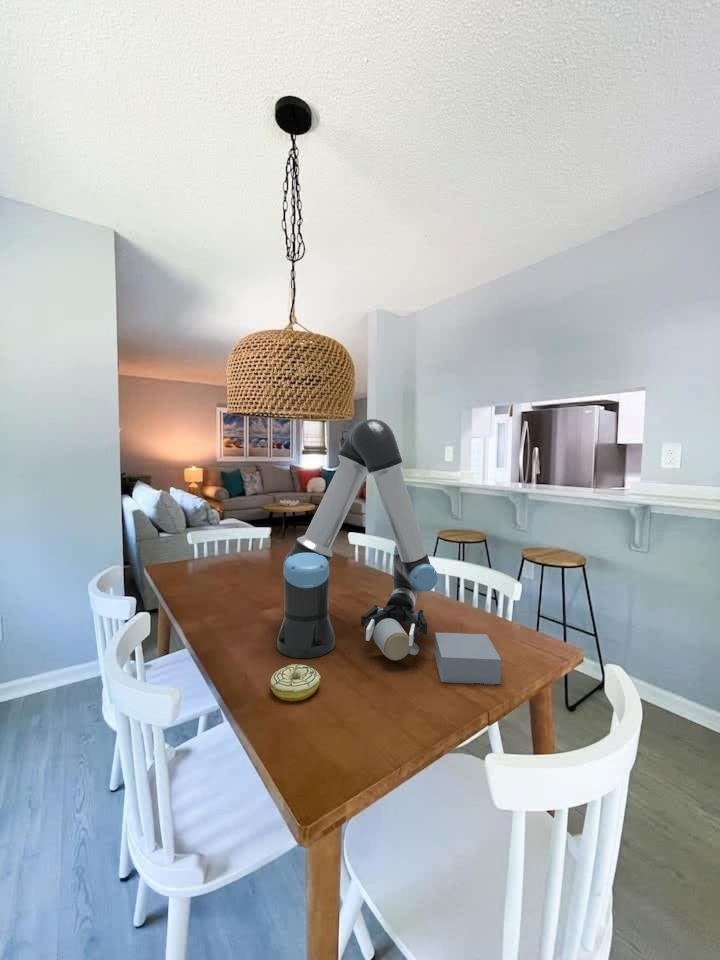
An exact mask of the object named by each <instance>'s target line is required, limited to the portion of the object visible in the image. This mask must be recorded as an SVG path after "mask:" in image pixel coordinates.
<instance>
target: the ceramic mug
mask: <svg viewBox="0 0 720 960" xmlns="http://www.w3.org/2000/svg"><path fill="white" fill-rule="evenodd" d="M372 637H373V640H374V643H375V644H376V646H378V648H379V650H380V651H381V652H382V653H383V655H384V656H385V657H386V658H387V659H389V660H391V661H400V660H403V659H404V658H405V657H406V656H407V655H408V654H409V655H412V656H416V655H418V653H419V651H420V647H419V646H418V644H416V643H415V642H414V641H413V644H412V646H409V634H408V633H407V632H406V631H405V630H404V628H403V627H402V625H401V624H400V622H397V621H396V620H394V619H391V618H387V619H383V620H381V621H380V622H379V623H378V624H377V625H376V626H375V627H374V631H373V633H372Z"/></svg>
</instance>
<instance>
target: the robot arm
mask: <svg viewBox="0 0 720 960" xmlns="http://www.w3.org/2000/svg"><path fill="white" fill-rule="evenodd" d="M343 442H344V443H343V445H342V447H341V449H340V451H339V452H338V455H337V457H338V460H339V464H338V467H337V469H336V471H335V472H334V474H333V476H332V479H331V480H330V483H329V484H328V487H327V488H326V490H325V493H324V495H323V497H322V499H321V501H320V503H319V506H318V508H317V509H316V512H314V514H313V515H314V516H313V517H312V519H311V522H310V524H309V525H308V527H307V530H306V531H305V534H304V535H302V536H299V537H297V538H296V540H295V542H294V544H293V547H292V548H291V550H290V551H289V552H288V553H287V555H286V556H285V557H284V561H283V564H282V572H283V608H284V609H283V620H282V623H281V626H280V629H279V633H278V635H277V639H276V640H277V641H276V643H277V649H278V651H279V653H280V654H282V655H284V656H287V657H290V658H294V659H313V658H317V657H320V656H321V657H322V656H324V655H327V654H328V653H329V652H331V651H332V650H333V649H334V648H335V646H336V636H335V632H334V631H335V630H334V629H333V628H334V627H333V625H332V622H331V620H330V619H331V618H330V616H329V607H330V605H329V600H330V599H329V590H330V588H329V583H330V582H329V581H330V580H329V576H330V567H329V566H330V565H329V564H330V562H331V560H332V557H333V556H334V555H333V552H332V546H333V544H334V542H335V539H336V538H337V535H338V534H339V532H340V529H341V528H342V526H343V523H344V522H345V519H346V517H347V515H348V513H349V511H350V509H351V507H352V504H353V503H354V501H355V499H356V497H357V495H358V493H359V491H360V488H361V486H362V485H363V483H364V481H365V478H366V476H368V475H371V476H372V477H373V478H374V481H375V485H376V488H377V491H378V494H379V497H380V500H381V502H382V506H383V509H384V511H385V516H386V518H387V519H386V520H387V521H388V524H389V527H390V530H391V533H392V536H393V539H394V543H395V546H394V548H393V549H394V551H393V555H392V556H393V578H392V579H393V583H392V591H391V594H390V596H389V598H388V600H387V603H386V606H383V607H382V608H380V607H379V605H377V604H374V605H373V606H372V608H371V609H369V610H368V611H366V612H365V613H364V614H362V615H361V617H360V626H361V628H362V627H363V628H364V632H365V641H368V642H369V641H370V640H371V637H373V632H374V629H375V627H376V625H377V624H378V623H379V622H380V621H381V620H383V619H387V618H391V619H394V620H396V621H397V622H398V623H402V624H403V625H405V626H408V628H409V629H410V630H409V634H408V636H409V646H412V644H413V642H414V639H418V638H419V637H420V634H421V633H422V634H424V635H427V634H428V622H427V620H426V618H425V615H424V610H423V609H419V610H417V611H415V610H414V609H415V606H416V603H417V599H418V597H419V592H421V593H427V592H430V591H431V590H433V589H434V588H435V587H436V586H437V584H438V580H439V576H438V571H437V570H436V568H434V567H435V566H433V565H432V564H431V561H430V558H429V556H428V555H429V554H428V552H427V549H426V546H425V543H424V540H423V537H422V533H421V531H420V526H419V523H418V520H417V517H416V514H415V511H414V508H413V504H412V501H411V498H410V495H409V492H408V488H407V485H406V481H405V479H404V475H403V471H402V469H401V467H402V465H403V460H402V456H401V453H400V449H399V447H398V443H397V440H396V436H395V434H394V432H393V430H392V428H391V427H390V426H389V425H388V424H387V423H386V422H384V421H383V420H381V419H375V418H372V419H370V418H369V419H366V420H363V421H359V422H357V423H355V424H354V425H352V426H351V427H350V428H349V429H348V430H347V432H346V434H345V437H344V441H343Z"/></svg>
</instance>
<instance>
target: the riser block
mask: <svg viewBox="0 0 720 960" xmlns="http://www.w3.org/2000/svg"><path fill="white" fill-rule="evenodd" d="M434 658H435V662H436V666H437V671H438V674H439V679H440V682H441V683H453V684H454V683H455V684H456V683H457V684H473V683H480V684H479V685H495V684H500V685H501V681H502V679H501V677H502V676H501V675H502V659H501V657H500V655H499V653H498V652H497V650H496V648H495V646H494V644H493V642H492V641H491V640H490V637H489V636H488V634H487V633H486V634H484V633H460V632H459V633H458V632H455V633H454V632H434ZM481 683H482V684H481ZM483 683H484V684H483Z"/></svg>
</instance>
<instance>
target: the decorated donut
mask: <svg viewBox="0 0 720 960" xmlns="http://www.w3.org/2000/svg"><path fill="white" fill-rule="evenodd" d="M320 683H321V675H320V673H319V672H318V671H317V670H316V669H315V668H313V667H312V666H308V665H305V664H297V663H296V664H294V663H292V664H288V665H286V666H284V667H282V668H280V669H277V670H276V671H275V672H274V673H273V674H272V675H271V678H270V689H271V691H272V693H273V694H274V695H275V696H276V698H278V699H280V700H282V701H287V702H298V701H299V702H300V701H304V700H306V699H309V698H310V697H311V696H312V695H314V694H315V693H316V692H317V690H318V688H319V686H320Z"/></svg>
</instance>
